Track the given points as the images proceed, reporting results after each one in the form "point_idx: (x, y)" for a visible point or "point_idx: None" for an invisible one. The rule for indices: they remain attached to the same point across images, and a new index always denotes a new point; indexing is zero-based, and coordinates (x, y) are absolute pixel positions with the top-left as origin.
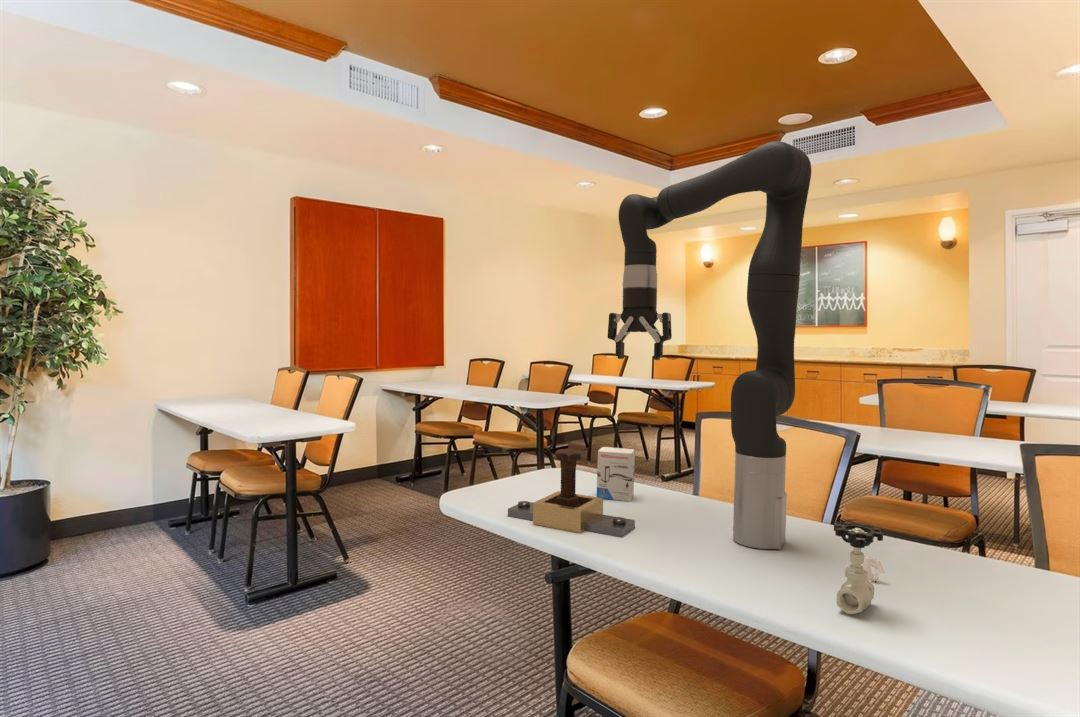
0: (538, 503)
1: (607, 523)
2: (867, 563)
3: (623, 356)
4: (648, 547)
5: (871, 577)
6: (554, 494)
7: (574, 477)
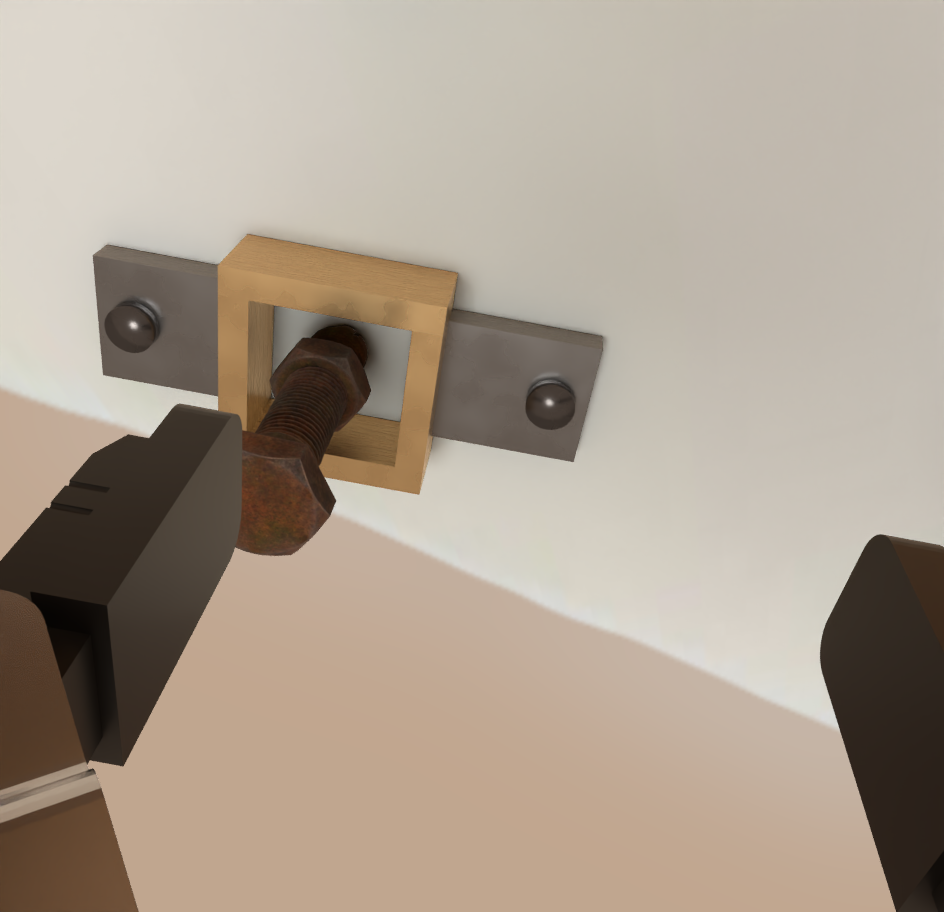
0: None
1: (510, 421)
2: None
3: (227, 449)
4: (671, 503)
5: None
6: (231, 323)
7: (326, 446)
